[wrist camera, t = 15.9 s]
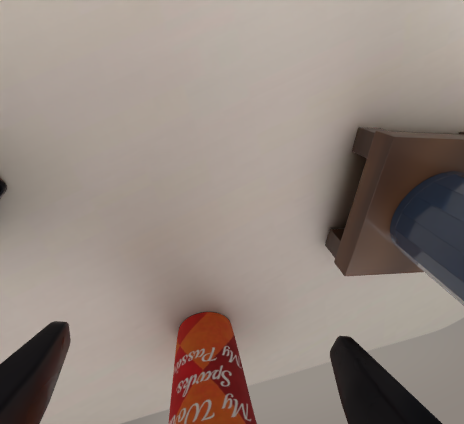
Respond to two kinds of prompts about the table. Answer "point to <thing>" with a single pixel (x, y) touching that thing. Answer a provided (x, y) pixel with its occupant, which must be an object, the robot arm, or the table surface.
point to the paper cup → (209, 374)
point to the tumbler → (434, 229)
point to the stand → (388, 195)
